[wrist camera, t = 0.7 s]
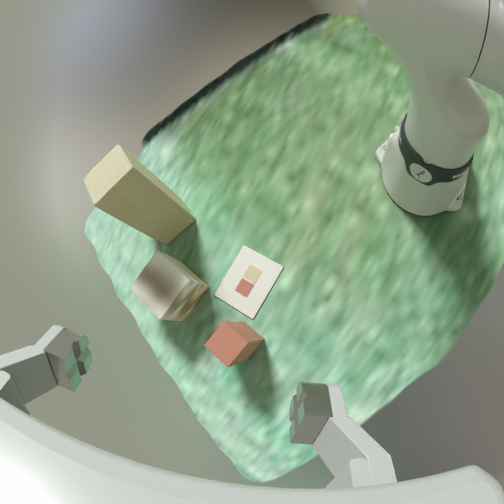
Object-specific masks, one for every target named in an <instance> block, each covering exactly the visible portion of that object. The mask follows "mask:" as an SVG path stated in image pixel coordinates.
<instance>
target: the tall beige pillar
mask: <svg viewBox="0 0 504 504" xmlns="http://www.w3.org/2000/svg"><path fill="white" fill-rule="evenodd" d="M84 182H85V184H86V187H87V189H88V192H89V194H90V197H91V199H92V201H93V203H94V205H95V206H96V207H97V208H99V209H101V210H103V211H104V212H106V213H108V214H110V215H111V216H113V217H115V218H117V219H119V220H120V221H122V222H124V223H126V224H128V225H129V226H131V227H133V228H135V229H137V230H139V231H140V232H142V233H144V234H146V235H148V236H150V237H151V238H153V239H155V240H157V241H159V242H161V243H163V244H164V245H167V244H169V243H170V242H171V241H172V240H173V239H174V238H175V237H177V236H178V235H179V234H180V233H181V232H182V231H183V230H184V229H186V228H187V227H188V226H189V225H190V224H191V223H193V222H194V221H195V217H194V216H193V215H192V213H191V212H190V211H189V209H188V208H187V207H186V205H185V204H184V202H183V201H182V200H181V198H180V197H179V196H177V195H176V194H175V193H174V192H173V191H172V190H171V189H170V188H169V187H167V186H166V185H165V184H164V183H163V182H162V181H161V180H159V179H158V178H157V177H156V176H155V175H154V174H153V173H152V172H150V171H149V170H148V169H147V168H146V167H145V166H144V165H142V164H141V163H140V162H139V161H138V160H137V159H136V158H134V157H133V156H132V155H131V154H130V153H129V152H128V151H126V149H124V148H123V147H122V146H121V145H117V146H116V147H115V148H114V149H113V150H111V152H109V153H108V154H107V155H106V156H105V157H104V158H103V160H101V162H99V163H98V164H97V165H96V166H95V167H94V168H93V169H92V171H91V172H90V173H89V174H88V175H87V176H86V177H85V178H84Z"/></svg>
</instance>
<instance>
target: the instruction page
mask: <svg viewBox="0 0 504 504" xmlns="http://www.w3.org/2000/svg"><path fill="white" fill-rule="evenodd" d="M282 269H283V266H281V265H279V264H277V263H275V262H274V261H272V260H270V259H268V258H266V257H264V256H263V255H261V254H259V253H257V252H255V251H253V250H252V249H250V248H248V247H246V246H244V245H243V247H242V249H241V250H240V252H239V254H238V256H237V257H236V259H235V261H234V262H233V264H232V266H231V267H230V269H229V271H228V273H227V274H226V276H225V278H224V279H223V281H222V283H221V285H220V286H219V288H218V290H217V291H216V293H215V296H217V297H218V298H220V299H221V300H223V301H225V302H226V303H228V304H229V305H231V306H232V307H234V308H236V309H237V310H239V311H240V312H242V313H244V314H245V315H247V316H248V317H250V318H252V319H253V318H254V317H255V315H256V313H257V312H258V310H259V308H260V307H261V305H262V303H263V302H264V300H265V298H266V296H267V295H268V293H269V291H270V290H271V288H272V286H273V284H274V283H275V281H276V279H277V277H278V276H279V274H280V272H281V271H282Z"/></svg>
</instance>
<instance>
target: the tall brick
mask: <svg viewBox="0 0 504 504" xmlns="http://www.w3.org/2000/svg"><path fill="white" fill-rule="evenodd" d="M263 340H264V338H263V337H261V336H260V335H259V334H258V333H256V332H255V331H254V330H253V329H252V328H251V327H249V326H248V325H247V324H246V323H245V322H232V321H223V322H222V323H221V325H220V326H219V327H218V328H217V330H216V331H215V332H214V333H213V335H212V336H211V337H210V338H209V340H208V341H207V342H206V343H205V345H204V346H205V347H206V348H207V349H208V350H209V351H210V352H212V353H213V354H214V355H215V356H216V357H217V358H218V359H219V360H220V361H221V362H223V363H224V364H225V365H226V366H227V367H229V366H232V365H234V364H237V363H240V362H242V361H245V360H247V359H248V358H249V357H250V356H251V355H252V354H253V352H254V351H255V350H256V349H257V348H258V346H259V345H260V344H261V343H262V342H263Z"/></svg>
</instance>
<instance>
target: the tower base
mask: <svg viewBox="0 0 504 504" xmlns="http://www.w3.org/2000/svg"><path fill="white" fill-rule="evenodd" d="M208 288H209V286H208V285H207V284H206V283H205V282H204V281H203V280H201V279H200V278H199V277H198V276H197V275H196V274H195V273H194V272H192V271H191V270H190V269H189V268H188V267H187V266H186V265H185V264H184V263H182V262H181V261H180V260H178V259H176V258H174V257H172V256H169V255H167V254H165V253H163V252H161V251H159V250H157V251H156V253H155V254H154V255H153V257H152V258H151V259H150V261H149V262H148V264H147V265H146V266H145V268H144V269H143V271H142V272H141V273H140V275H139V276H138V278H137V279H136V281H135V282H134V283H133V285H132V286H131V289H132V290H133V291H134V292H135V293H136V294H137V296H138V297H139V298H140V299H141V300H142V301H143V302H144V303H145V304H146V305H147V307H148V308H149V309H150V310H151V311H152V312H153V313H154V314H155V315H156V316H157V317H158V318H159V319H160V320H172V321H184V319H185V318H186V317H187V316H188V314H189V313H190V312H191V310H192V309H193V308H194V306H195V305H196V304H197V302H198V301H199V300H200V299H201V297H202V296H203V295H204V293H205V292H206V291H207V289H208Z"/></svg>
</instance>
